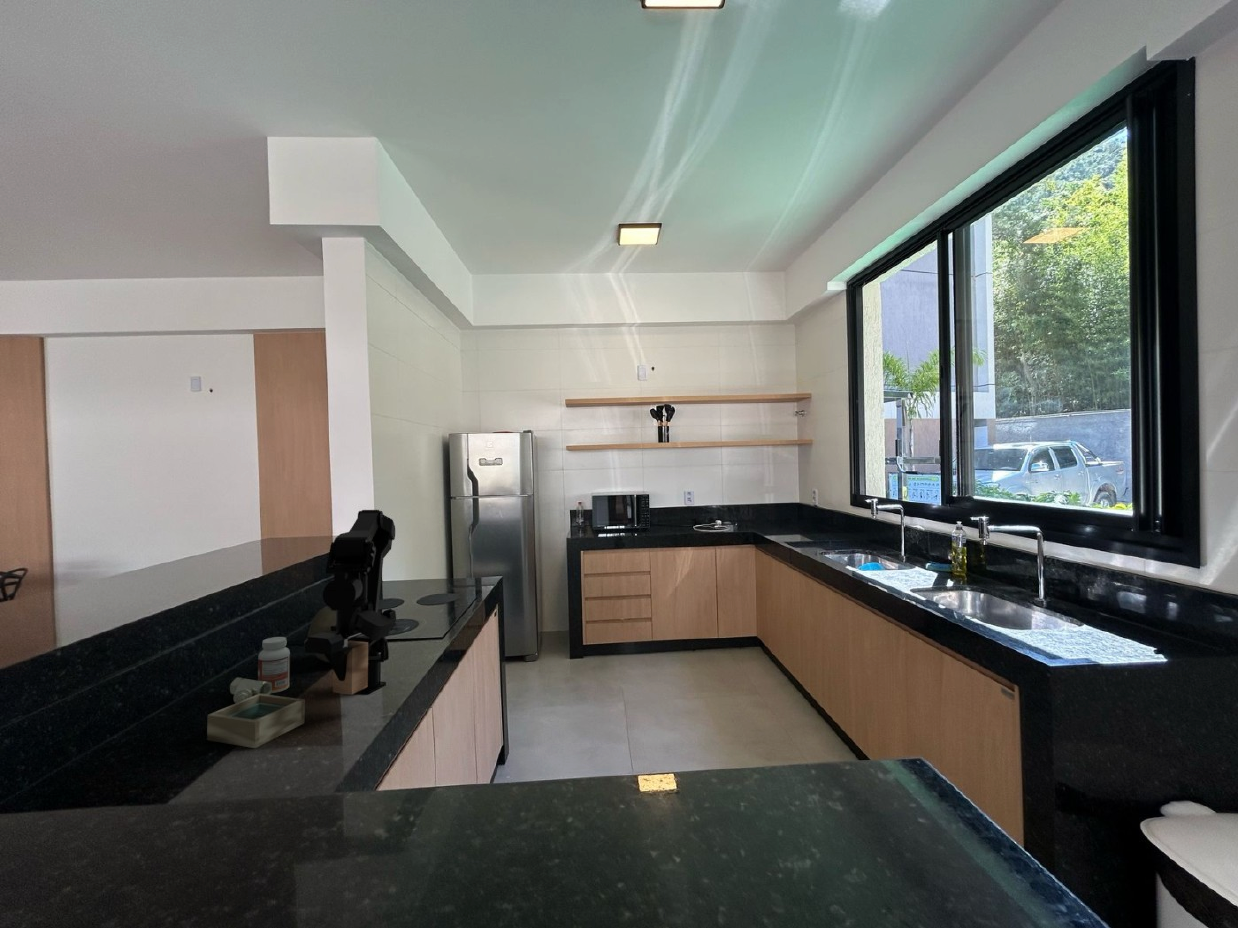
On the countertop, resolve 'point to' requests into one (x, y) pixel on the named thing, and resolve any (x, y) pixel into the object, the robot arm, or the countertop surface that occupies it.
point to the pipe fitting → (248, 688)
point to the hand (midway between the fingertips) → (350, 676)
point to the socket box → (255, 720)
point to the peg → (354, 670)
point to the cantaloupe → (323, 625)
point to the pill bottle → (274, 663)
